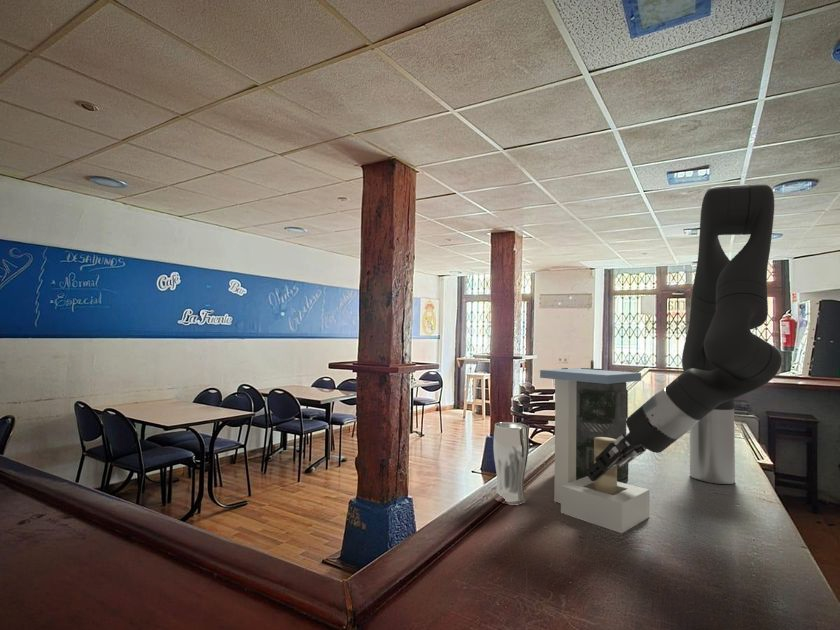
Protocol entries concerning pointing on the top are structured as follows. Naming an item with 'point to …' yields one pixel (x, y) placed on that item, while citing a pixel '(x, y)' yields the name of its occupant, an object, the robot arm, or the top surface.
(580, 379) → the kiosk
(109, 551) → the top surface
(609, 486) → the peg
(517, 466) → the beer glass
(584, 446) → the canister
